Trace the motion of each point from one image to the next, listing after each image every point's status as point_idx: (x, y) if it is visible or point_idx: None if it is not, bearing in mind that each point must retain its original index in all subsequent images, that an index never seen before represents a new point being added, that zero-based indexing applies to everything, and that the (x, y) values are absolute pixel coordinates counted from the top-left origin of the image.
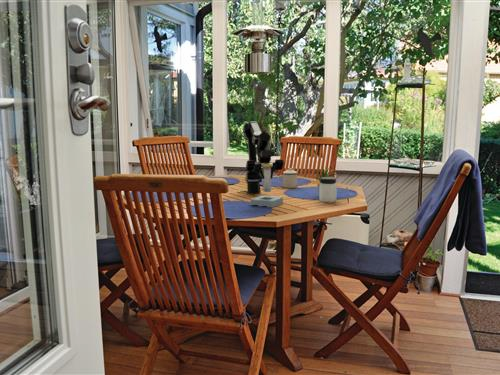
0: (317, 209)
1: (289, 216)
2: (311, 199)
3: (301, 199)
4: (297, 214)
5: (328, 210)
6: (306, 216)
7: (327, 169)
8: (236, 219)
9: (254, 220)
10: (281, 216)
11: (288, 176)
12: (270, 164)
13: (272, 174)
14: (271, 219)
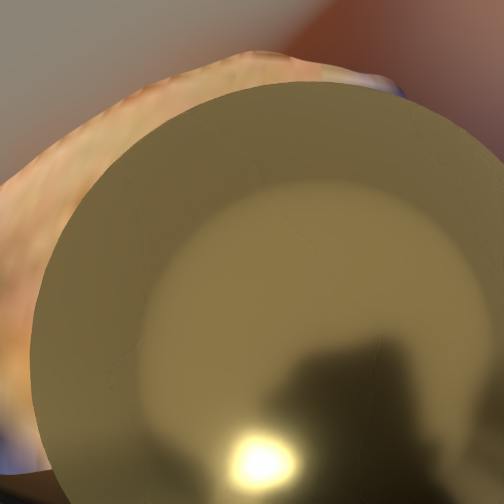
0: (45, 200)
1: (194, 94)
2: (8, 441)
3: (46, 463)
4: (154, 118)
5: (24, 183)
6: (135, 96)
7: None
8: (384, 85)
9: (325, 67)
10: (225, 94)
11: None
12: (203, 120)
13: None
14: (268, 68)
